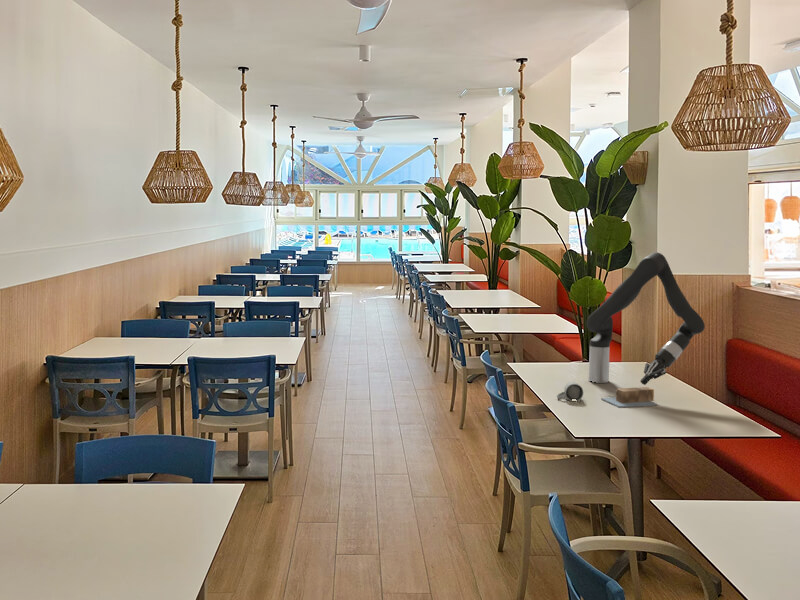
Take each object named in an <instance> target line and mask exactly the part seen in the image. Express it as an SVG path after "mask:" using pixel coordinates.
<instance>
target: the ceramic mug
mask: <svg viewBox="0 0 800 600" xmlns="http://www.w3.org/2000/svg"><path fill="white" fill-rule="evenodd" d="M563 389H564V390H563V392H560V393H558V394H557V395H556V397H557V399H558V400H563V399H567V400H568V401H570V402H572V399H576V400H577V402H579V401H581V400H582V398H583V397H584V389H583V387H582V386H581V385H580V384H579V383H578V382H576V381H575V382H574V381H570V382H568V383H566V384H565V386H564V388H563Z"/></svg>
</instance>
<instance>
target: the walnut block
mask: <svg viewBox="0 0 800 600" xmlns="http://www.w3.org/2000/svg"><path fill="white" fill-rule="evenodd" d="M615 393H616V394H615V397H616V401H619V402H621V403H632V402H646V401H652V402H654V401H655V399H654V398H655V389H653V388H651V387H649V386H642V387H641V386H638V387H623V388H621V387H620V388H616V390H615Z"/></svg>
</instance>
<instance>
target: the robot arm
mask: <svg viewBox="0 0 800 600" xmlns="http://www.w3.org/2000/svg"><path fill="white" fill-rule="evenodd" d="M667 260H668V259H666V257H665V256H664V255H663V253H661V252H657V251H655V252H652V253H650V254H649V255H646V256H645V257H644V258H642V259H641V260H640V262H639V263H638V265H637V266H636V268H635V269H634V270H633V272H632V273H631V274H630V275H629V276H627V278H625V280H623V281H622V282H621V283H620V284H619V285H618V286H617V287H616V289H615V290H614V291H612V293H611V294H610V295H609V296H608V297H607V298H606V299H605V301H604V302H603V303H602V304H601V305H600V306H599V307H597V309H595V310H594V311H593V312H592V313H590V314H589V316H588V318H587V320H586V328H587V330H588V331H589V332H591V333H596V335H594V337H593V338H591V339H590V340H589V359H588V379H587V380H588V382H590V381H592V382H591V383H594V382H596V384H606V383H608V382H609V380H610V346H611V342H612V339H613V329H614V321H613V317H612V316H614V315H616V314H617V313H619V312H622V311H623V310H625V309H626V308H628V307H629V306H630V305H632V303H633V302H634V301H635V300H636V299H637V297H638V296H639V295H640V293H641V290H642V288H643V287H644V286H645V285H646V284H647V283H648V282H650V281H651V280H652V279H654V277H656V276H657V277H658V278H659V280H660V282H661V284H662V286H663V289H664V293H665V296H666V300H667V302H668V304H669V306H670V307H671V309H672V311H673V312H674V314H675V315H676V317H678V318H681V319H682V321H683V323H681V325H680V327H679V328H678V330H677V331H676V333H675V334H673V336H672V337H671V338H670V339H669V341H667V342H666V343H665V344H664V345H663V346H662V347H661V348H660V349H659V351H658V352H656V354H655V355H654V360H652V361H651V363H648V362H646V363H645V366H644V370H643V373H644V376H643V377H642V378H641V379H640V381H639V382H640V383H641V384H642V385H644V386H646V385H647V384H648V383H649V382H650V381H651V380H656V379H658V378H660V377H661V376H664V375H665V374H667V373H668V372H667V371H666V369H667V368H671V366H672V365H673V364H674V363H675V361H676V360H677V359H678V358H679V357H681V354H682V353H683V351H685V349H686V348H687V347H688V346H689V345H690V343H691V339H692V338H693V337H694V336H695V335H698V334H701V333H703V332H704V330H705V327H706V324H705V322H704V320H703V318H702V316H700V315H699V313H698V312H697V311H696V310H695V309H694V308H693V307H692V305H691V304H690V303H689V301H688V300H687V298H686V297H685V295H684V293H683V292H682V290H681V288H680V286H679V284H678V283H677V280H676V278H675V276H674V274H673V271H672V270H671V268H670V265H669V263H668V261H667Z"/></svg>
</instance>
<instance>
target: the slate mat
mask: <svg viewBox="0 0 800 600" xmlns="http://www.w3.org/2000/svg"><path fill="white" fill-rule="evenodd" d="M600 398H601V399H602V401H603V400H604V401H603V402H605V401H606V402H605V403H608V404H610V405H613V406H614V407H617V408H618V409H619V408H621V409H622V408H635V407H648V406H649V407H651V406H658V403H656V402H654V401H646V402H632V403H621V402H619V401H616V396H614V397H600ZM601 399H600V400H601Z"/></svg>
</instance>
